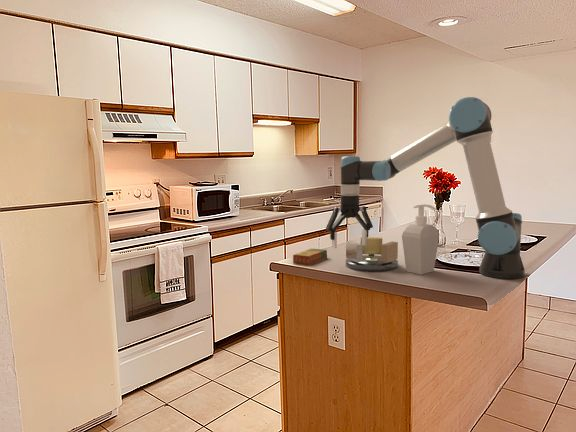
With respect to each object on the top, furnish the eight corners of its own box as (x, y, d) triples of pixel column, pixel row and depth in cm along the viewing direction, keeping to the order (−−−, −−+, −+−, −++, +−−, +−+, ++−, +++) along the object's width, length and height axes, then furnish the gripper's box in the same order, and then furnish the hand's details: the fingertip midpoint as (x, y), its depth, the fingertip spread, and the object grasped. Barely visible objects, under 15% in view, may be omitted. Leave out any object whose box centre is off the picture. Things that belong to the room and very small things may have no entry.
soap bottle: (423, 276, 164) (425, 206, 161) (401, 271, 172) (402, 205, 169) (442, 271, 172) (444, 204, 168) (420, 266, 179) (421, 202, 176)
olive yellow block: (382, 255, 191) (382, 237, 190) (382, 256, 188) (382, 238, 187) (360, 254, 192) (360, 237, 191) (360, 256, 190) (360, 238, 189)
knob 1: (362, 263, 176) (362, 244, 175) (356, 264, 175) (356, 245, 174) (351, 259, 184) (351, 240, 184) (346, 259, 184) (346, 241, 183)
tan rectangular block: (391, 260, 182) (391, 241, 181) (397, 260, 180) (397, 242, 179) (380, 264, 175) (381, 244, 174) (386, 265, 173) (387, 245, 172)
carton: (292, 264, 189) (292, 254, 189) (311, 256, 203) (310, 247, 202) (309, 266, 185) (309, 256, 185) (327, 258, 199) (327, 249, 198)
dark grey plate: (405, 270, 174) (405, 263, 173) (353, 272, 171) (353, 265, 171) (387, 258, 194) (387, 252, 194) (340, 260, 192) (340, 254, 192)
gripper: (372, 193, 187) (371, 242, 190) (317, 195, 179) (317, 246, 182) (381, 194, 180) (380, 245, 183) (325, 196, 172) (325, 250, 175)
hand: (349, 246), depth 183 cm, fingers open, 13 cm apart
